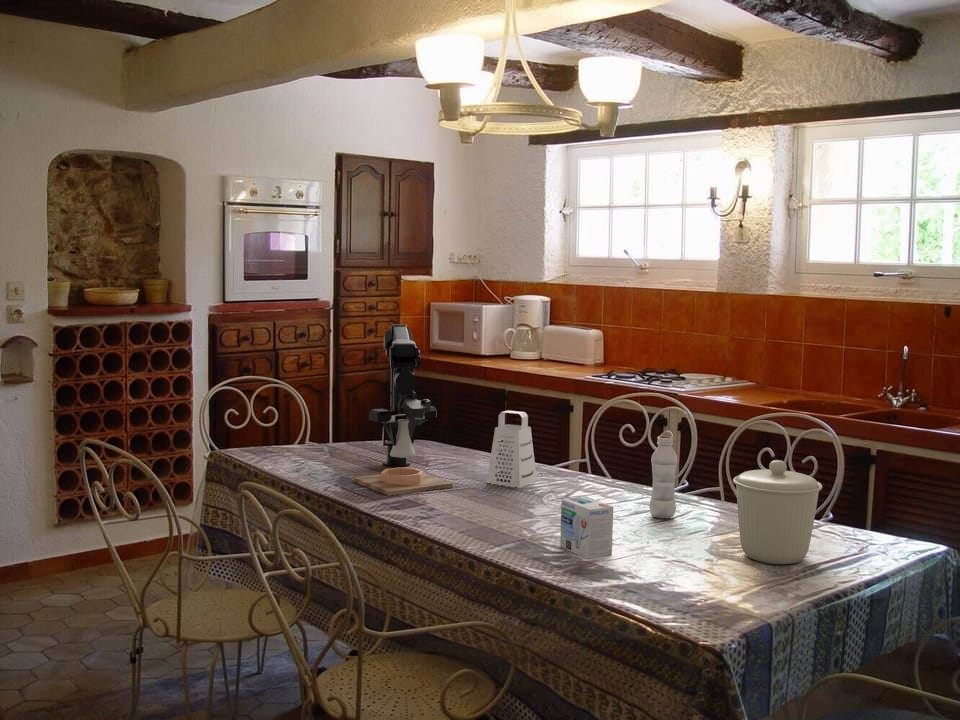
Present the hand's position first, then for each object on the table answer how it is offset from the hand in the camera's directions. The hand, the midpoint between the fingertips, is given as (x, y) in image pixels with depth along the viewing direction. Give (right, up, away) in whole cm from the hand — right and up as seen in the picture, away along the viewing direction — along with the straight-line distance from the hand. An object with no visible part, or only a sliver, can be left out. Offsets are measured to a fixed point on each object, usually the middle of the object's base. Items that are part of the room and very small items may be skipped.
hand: (402, 444), depth 278 cm
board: (0, -11, +1) cm, 11 cm away
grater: (+30, -11, +6) cm, 33 cm away
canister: (+84, -19, -63) cm, 107 cm away
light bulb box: (+44, -18, -60) cm, 77 cm away
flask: (0, -3, 0) cm, 3 cm away
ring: (0, -10, +1) cm, 10 cm away
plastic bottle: (+66, -16, -31) cm, 74 cm away
